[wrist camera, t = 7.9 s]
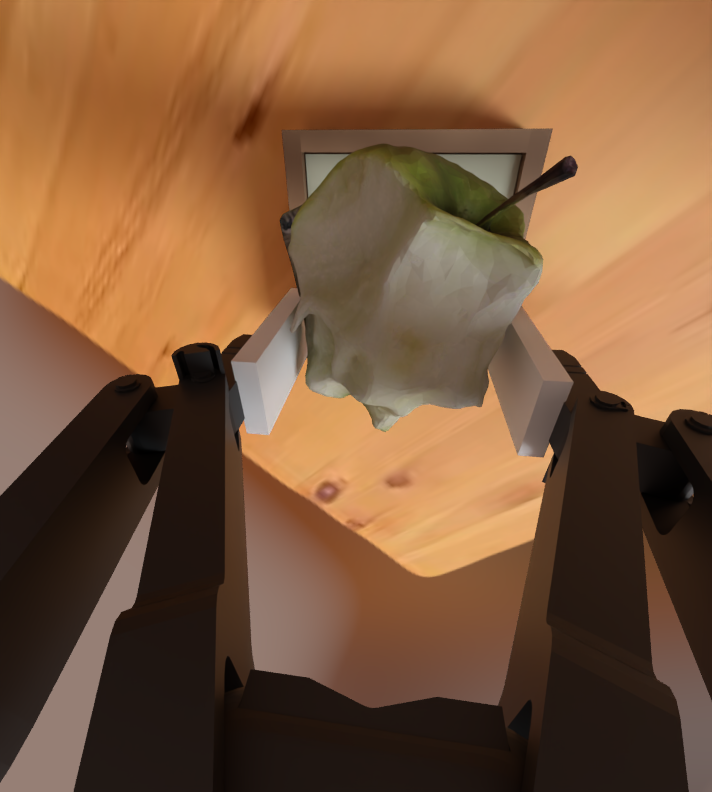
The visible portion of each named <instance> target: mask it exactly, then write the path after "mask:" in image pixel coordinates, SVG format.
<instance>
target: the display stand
mask: <svg viewBox="0 0 712 792" xmlns="http://www.w3.org/2000/svg"><path fill="white" fill-rule="evenodd" d="M551 133H552V129H391V130H282V138H283V149H284V159H285V170H286V180H287V191H288V201H289V211H290V210H293V209H295V208H297V207H298V206H300V205H302V204H303V203H304V202H305V201H306V200H307V199H308V197H309V196H310V195H311V194H312V193H313V192H314V191H315V190H316V189H317V188H318V186H319V185H320V184H321V183H322V181H323V180H324V179H325V177H326V176H327V175H328V174H329V172H330V171H331V170H332V169H333V168H334V166H335V165H336V164H337V163H338V162H339V161H340V160H342V159H344V158H345V157H347V156H348V155H350V154H351V153H353V152H354V151H356V150H359V149H362V148H365V147H369V146H373V145H377V144H389V145H392V146H399V147H400V146H407V147H413V148H416V149H419V150H422V151H425V152H429V153H433V154H436V155H439V156H441V157H443V158H445V159H446V160H448V161H450V162H453V163H456V164H458V165H459V166H461V167H462V168H463V169H465V170H467V171H469V172H471V173H473V174H474V175H476V176H477V177H478V178H480V179H481V180H483V181H485V182H487V183H489V184H491V185H492V186H493V187H494V188H495V189H496V190H497V191H498V192H499V193H501V194H502V195H504V196H505V197H506V198H508V199H509V198H510V197H511V196H513V195H514V194H516V193H517V192H519V191H520V190H521V189H523V188H524V187H526V186H527V185H529V184H530V183H532V182H533V181H535V180H536V179H537V178H539V177H540V176H541V174H542V170H543V166H544V162H545V158H546V154H547V150H548V146H549V142H550V138H551ZM536 194H537V192H536V193H533V194H531V195H529V196H528V197H526V198H524V199H523V200H521V201H520V202H518V203H516V204H515V205H516V206H517V207H518V208H520V209H521V211H522V212H523V213H524V222H525V232H524V233H523V234H524V237H523V239H525V238H526V234H527V230H528V226H529V222H530V218H531V214H532V210H533V206H534V202H535V198H536ZM307 358H308V355H307Z"/></svg>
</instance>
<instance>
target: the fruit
mask: <svg viewBox="0 0 712 792" xmlns="http://www.w3.org/2000/svg"><path fill="white" fill-rule="evenodd" d="M577 168H578V167H577V164H576V161H575V159H574V158H573V157H572V156H568V157H565V158H563V159H562V160H561V161H560V162H558V163H557V164H556V165H554V166H553V167H552V168H550V169H549V170H548V171H546V172H545V173H544V174H543V175H541V176H540V177H539V178H537V179H536V180H535V181H533V182H532V183H530V184H529V185H527V186H526V187H524V188H523V189H521V190H520V191H519V192H517V193H516V194H514V195H513V196H511V197H510V198H509V199H508V198H506V197H505V196H504V195H502V194H501V193H499V192H498V191H497V190H496V189H495V188H494V187H493V186H492V185H491V184H489V183H487V182H485V181H483V180H481V179H480V178H478V177H477V176H476V175H474V174H473V173H471V172H469V171H467V170H465V169H463V168H462V167H461V166H459V165H458V164H456V163H453V162H450V161H448V160H446V159H445V158H443V157H441V156H439V155H436V154H433V153H429V152H425V151H422V150H419V149H416V148H413V147H407V146H400V147H399V146H392V145H389V144H377V145H373V146H369V147H365V148H362V149H359V150H356V151H354V152H353V153H351V154H350V155H348V156H347V157H345V158H344V159H342V160H340V161H339V162H338V163H337V164H336V165H335V166H334V168H333V169H332V170H331V171H330V172H329V174H328V175H327V176H326V177H325V179H324V180H323V181H322V183H321V184H320V185H319V186H318V188H317V189H316V190H315V191H314V192H313V193H312V194H311V195H310V196H309V197H308V199H307V200H306V201H305V202H304V203H303V204H302V205H300V206H298V207H297V208H295V209H293V210H290V211H288V212H286V213H284V214H283V215H282V217H281V219H280V224H281V229H282V234H283V238H284V242H285V245H286V248H287V251H288V255H289V258H290V261H291V265H292V268H293V272H294V276H295V281H296V285H297V289H298V293H299V297H300V302H299V305H298V308H297V311H296V314H295V317H294V319H293V322H292V325H291V328H290V332H291V333H293V332H295V331H296V330H297V328H298V326H299V325H300V323H301V322H302V321H303V319H304V324H305V336H306V343H307V353H308V364H307V370H306V375H305V376H306V385H307V386H308V387H309V389H310V390H312V391H313V392H316V393H319V394H321V395H324V396H328V397H335V398H344V397H346V396H348V395H352V396H353V397H354V398H355V399H356V400H357V401H359V402H361V403H363V405H364V406H365V407H366V409H367V410H368V412H369V414H370V416H371V418H372V424H373V426H374V427H375V428H376V429H380V430H381V431H384V432H386V431H388V430H389V429H390V428H391V427H392V426H393V425H394V424H395V423H396V422H397V421H398V419H399V418H400V417H404V416H407V415H408V414H409V413H410V412H411V411H412V410H414V409H415V408H417V407H419V406H421V405H427V404H431V405H436V406H440V407H445V408H452V409H461V408H463V407H470V406H477V407H481V406H482V404H483V399H484V395H485V393H486V391H487V388H488V384H489V379H488V367H489V364H490V362H491V361H492V359H493V357H494V355H495V354H496V352H497V351H498V349H499V348H500V346H501V344H502V342H503V339H504V336H505V331H506V329H507V327H508V325H509V324H510V323H512V321H513V320H514V318H515V316H516V315H517V313H518V311H519V309H520V307H521V305H522V303H523V301H524V299H525V298H526V297H527V296H528V295H529V294H530V293H531V291H532V290H533V289H534V287H535V286H536V285H537V284H538V283H539V279H540V276H541V273H542V266H543V258H542V255H541V254H540V253H539V251H538V250H537V249H536V248H534V247H533V246H531V245H530V244H529V243H528V241H526V240H525V239H523V237H524V234H523V233H524V232H525V222H524V213H523V212H522V211H521V209H520V208H518V207H517V206H516V205H515V204H516V203H518V202H520V201H521V200H523V199H524V198H526V197H528V196H529V195H531V194H533V193H536V192H538V191H541V190H543V189H545V188H548V187H550V186H552V185H555V184H557V183H559V182H562V181H564V180H566V179H568V178H571V177H573V176H575V174H576V171H577Z"/></svg>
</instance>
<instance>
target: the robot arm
mask: <svg viewBox="0 0 712 792" xmlns="http://www.w3.org/2000/svg"><path fill="white" fill-rule="evenodd" d="M299 302H300V297H299V293H298V289H297V288H291V289H290V290H289V291H288V292H287V294H286V295H285V296H284V297H283V298H282V300H281V301H280V302H279V303H278V305H277V306H276V307H275V308H274V309H273V311H272V312H271V313H270V314H269V315H268V317H267V318H266V319H265V320H264V322H263V323H262V324H261V325H260V326H259V328H258V329H257V330H256V331H255V333H254V334H253V335H246V334H243V335H241V336H240V337H238V338H236V339H234V340H233V341H232V342H231V343H230V344H229V345H228V346H227V348H225V349H224V351H223V352H222V354H221V353H220V349H219V347H218V346H217V345H215V344H212V343H194V344H189V345H186V346H184V347H181V348H179V349H178V350H176V351H175V352H174V353H173V354H172V359H173V362H174V365H175V368H176V371H177V374H178V377H179V385H173V386H165V387H156V388H155V386H154V384H153V381H152V379H151V377H149V376H147V375H140V374H136V375H125V376H122V377H119V378H118V379H116V380H114V381H112V382H110V383H109V384H107V385H106V386H105V387H104V388H103V389H102V390H101V391H100V392H99V393H98V394H97V395H96V396H95V397H94V398H93V399H92V400H91V401H90V402H89V404H87V406H86V407H85V408H84V409H83V410H82V411H81V412H80V413H79V414H78V415H77V416H76V417H75V418H74V419H73V420H72V421H71V422H70V423H69V425H67V427H66V428H65V429H64V430H63V431H62V432H61V433H60V434H59V435H58V436H57V437H56V438H55V439H54V440H53V441H52V442H51V443H50V444H49V446H47V448H46V449H45V450H44V451H43V452H42V453H41V454H40V455H39V456H38V457H37V458H36V459H35V460H34V461H33V462H32V463H31V464H30V465H29V466H28V467H27V469H26V470H25V471H24V472H23V473H22V474H21V475H20V476H19V477H18V478H17V479H16V480H15V481H14V482H13V483H12V484H11V485H10V486H9V488H7V490H6V491H5V492H4V493H3V494H2V495H1V496H0V782H1V780H2V779H3V777H4V776H5V774H6V773H7V771H8V770H9V768H10V766H11V765H12V763H13V761H14V760H15V758H16V756H17V754H18V752H19V751H20V749H21V747H22V745H23V744H24V742H25V740H26V738H27V737H28V735H29V733H30V731H31V729H32V728H33V726H34V724H35V722H36V720H37V718H38V716H39V714H40V712H41V710H42V709H43V707H44V705H45V703H46V701H47V699H48V697H49V695H50V693H51V691H52V689H53V687H54V685H55V683H56V682H57V680H58V678H59V676H60V674H61V672H62V670H63V668H64V666H65V664H66V662H67V660H68V659H69V657H70V655H71V653H72V651H73V649H74V647H75V645H76V643H77V641H78V639H79V637H80V635H81V633H82V632H83V630H84V627H85V626H86V624H87V622H88V620H89V618H90V616H91V614H92V612H93V610H94V608H95V607H96V605H97V603H98V601H99V598H100V597H101V595H102V593H103V591H104V589H105V587H106V585H107V583H108V582H109V580H110V578H111V576H112V574H113V572H114V570H115V568H116V566H117V564H118V562H119V560H120V558H121V556H122V554H123V553H124V551H125V549H126V547H127V545H128V543H129V541H130V539H131V537H132V535H133V533H134V531H135V529H136V528H137V526H138V524H139V522H140V520H141V518H142V516H143V514H144V512H145V510H146V508H147V506H148V504H149V503H150V501H151V499H152V497H153V495H154V493H155V491H156V489H157V487H158V492H157V497H156V502H155V507H154V512H153V517H152V522H151V527H150V532H149V537H148V542H147V548H146V552H145V557H144V562H143V567H142V573H141V578H140V583H139V588H138V593H137V598H136V601H135V603H134V605H133V607H132V608H131V609H128V610H126V611H123V612H121V614H120V615H119V617H118V618H117V619H116V621H115V624H114V627H113V629H112V632H111V635H110V639H109V643H108V647H107V652H106V656H105V660H104V665H103V669H102V673H101V677H100V682H99V686H98V690H97V694H96V698H95V703H94V707H93V711H92V716H91V720H90V724H89V728H88V732H87V737H86V741H85V745H84V750H83V754H82V758H81V762H80V766H79V771H78V775H77V779H76V784H75V788H74V792H689V790H688V782H687V773H686V764H685V755H684V747H683V738H682V729H681V721H680V715H679V710H678V706H677V701H676V699H675V697H674V695H673V693H672V691H671V689H670V687H668V686H667V685H665V684H663V683H662V682H660V681H659V680H657V679H656V676H655V674H654V672H653V666H652V656H651V642H650V628H649V615H648V601H647V589H646V588H647V586H646V574H645V559H644V545H643V531H644V533H645V536H646V538H647V540H648V543H649V546H650V548H651V551H652V553H653V556H654V558H655V561H656V563H657V566H658V568H659V571H660V573H661V576H662V578H663V580H664V583H665V586H666V588H667V591H668V593H669V595H670V598H671V600H672V603H673V605H674V608H675V610H676V613H677V615H678V618H679V620H680V623H681V625H682V628H683V630H684V633H685V635H686V638H687V640H688V642H689V645H690V648H691V650H692V652H693V655H694V657H695V660H696V663H697V665H698V668H699V670H700V673H701V675H702V678H703V680H704V682H705V685H706V687H707V690H708V692H709V695H710V697H711V700H712V415H710V414H709V415H708V414H707V413H704V412H698V411H693V410H684V409H679V410H675V411H672V413H671V414H670V415H669V417H668V418H667V420H666V422H662V421H658V420H653V419H649V418H645V417H641V416H637V415H634V410H633V408H632V406H631V404H629V403H628V402H627V401H626V400H625V399H623V398H621V397H619V396H617V395H615V394H612V393H609V392H606V391H600V390H599V388H598V387H597V386H596V384H595V383H594V382H593V381H592V379H591V378H590V377H589V375H588V374H586V371H585V370H584V369H583V368H582V367H581V365H580V364H579V362H578V361H577V360H576V358H575V357H573V356H571V355H570V354H568V353H567V352H565V351H564V350H551V348H550V347H549V345H548V344H547V342H546V341H545V339H544V338H543V337H542V335H541V334H540V332H539V331H538V329H537V328H536V326H535V325H534V323H533V322H532V320H531V319H530V318H529V316H528V315H527V313H526V312H525V310H524V309H523V307H522V306H521V307H520V309H519V311H518V313H517V315H516V316H515V318H514V320H513V321H512V323H510V324H509V325H508V327H507V329H506V331H505V336H504V339H503V342H502V344H501V346H500V348H499V349H498V351H497V352H496V354H495V355H494V357H493V359H492V361H491V362H490V364H489V367H488V370H489V373H490V376H491V379H492V382H493V384H494V387H495V390H496V393H497V396H498V399H499V402H500V405H501V408H502V411H503V414H504V416H505V419H506V422H507V425H508V428H509V431H510V434H511V437H512V440H513V443H514V446H515V448H516V451H517V454H518V455H521V456H533V457H544V455H545V452H546V450H547V447H548V445H549V442H550V445H551V447H552V449H553V451H554V455H553V457H552V459H551V462H550V464H549V466H548V469H547V471H546V474H545V476H544V478H543V481H542V482H544V483H546V484H545V489H544V494H543V498H542V503H541V508H540V513H539V518H538V523H537V528H536V533H535V538H534V543H533V548H532V553H531V558H530V563H529V568H528V572H527V578H526V582H525V587H524V592H523V597H522V602H521V607H520V612H519V617H518V622H517V627H516V632H515V636H514V641H513V646H512V651H511V656H510V661H509V666H508V671H507V676H506V680H505V685H504V689H503V692H502V696H501V698H500V701H499V704H498V706H495V705H488V704H481V703H474V702H467V701H461V700H455V699H447V698H441V697H434V698H429V699H424V700H418V701H412V702H406V703H401V704H395V705H390V706H384V707H379V708H369V707H366V706H363V705H361V704H359V703H357V702H355V701H354V700H352V699H350V698H348V697H346V696H344V695H342V694H340V693H338V692H336V691H334V690H332V689H330V688H328V687H326V686H324V685H322V684H320V683H318V682H316V681H314V680H312V679H310V678H307V677H300V676H293V675H287V674H280V673H273V672H266V671H259V670H255V669H254V662H253V656H252V646H251V629H250V608H249V588H248V568H247V549H246V528H245V508H244V489H243V468H242V448H241V436H240V432H239V427H240V426H241V424H242V422H243V421H244V422H245V426H246V431H247V433H251V434H263V435H269V434H270V432H271V430H272V428H273V426H274V424H275V422H276V420H277V418H278V416H279V413H280V411H281V409H282V407H283V405H284V403H285V401H286V399H287V397H288V395H289V393H290V391H291V389H292V387H293V384H294V382H295V380H296V378H297V376H298V374H299V372H300V370H301V368H302V366H303V364H304V362H305V360H306V358H307V355H308V353H307V343H306V336H305V324H304V319H303V321H302V322H301V323H300V325H299V326H298V328H297V330H296V331H295V332H293V333H291V332H290V328H291V325H292V322H293V319H294V317H295V314H296V311H297V308H298V305H299ZM126 445H127V447H126ZM158 485H159V486H158ZM693 493H694V497H693V496H692V494H693ZM642 528H643V531H642Z"/></svg>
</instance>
